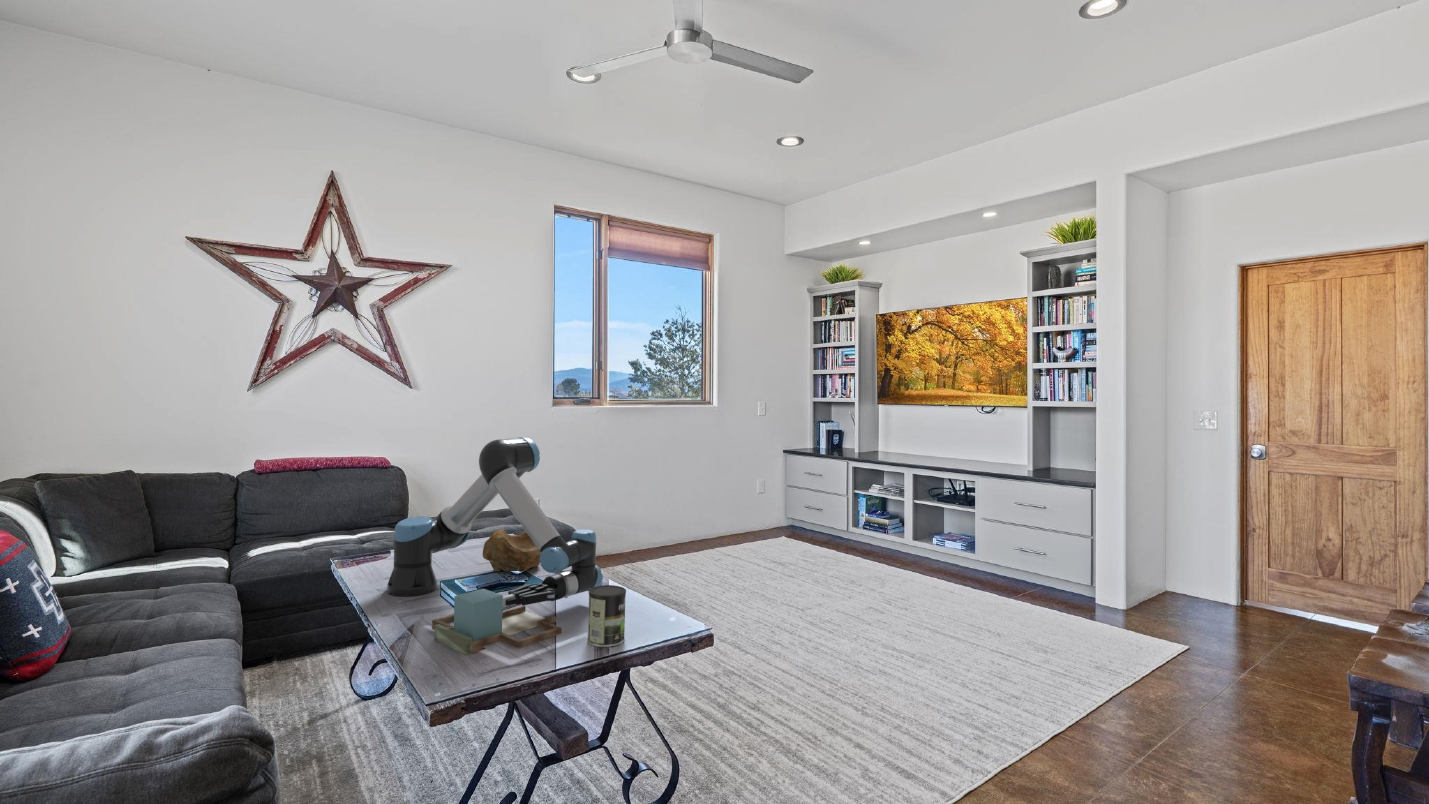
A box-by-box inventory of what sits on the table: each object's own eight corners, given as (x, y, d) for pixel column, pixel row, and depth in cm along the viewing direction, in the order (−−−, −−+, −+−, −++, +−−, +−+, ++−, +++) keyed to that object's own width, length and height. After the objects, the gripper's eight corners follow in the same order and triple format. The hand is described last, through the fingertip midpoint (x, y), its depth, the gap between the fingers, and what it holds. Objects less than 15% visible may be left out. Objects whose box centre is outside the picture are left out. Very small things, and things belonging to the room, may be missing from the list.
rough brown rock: (500, 583, 241) (504, 542, 240) (476, 569, 252) (480, 530, 251) (555, 573, 258) (559, 534, 257) (530, 561, 269) (534, 523, 268)
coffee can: (627, 634, 194) (628, 585, 194) (621, 648, 184) (623, 596, 184) (591, 633, 195) (592, 584, 194) (583, 646, 184) (585, 595, 184)
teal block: (482, 626, 193) (483, 588, 193) (501, 634, 188) (502, 595, 188) (453, 635, 186) (454, 596, 186) (473, 644, 181) (474, 603, 180)
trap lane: (506, 607, 214) (506, 594, 213) (574, 631, 195) (574, 618, 195) (418, 632, 190) (418, 618, 190) (486, 663, 171) (486, 647, 171)
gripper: (573, 603, 206) (507, 623, 187) (545, 593, 214) (479, 612, 195) (574, 578, 206) (508, 596, 187) (545, 570, 213) (480, 586, 194)
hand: (493, 604), depth 191 cm, fingers closed
